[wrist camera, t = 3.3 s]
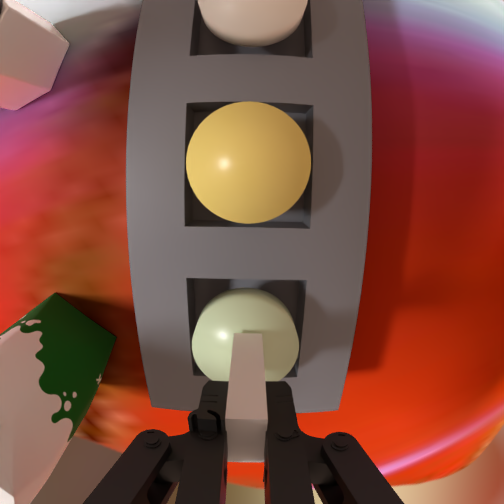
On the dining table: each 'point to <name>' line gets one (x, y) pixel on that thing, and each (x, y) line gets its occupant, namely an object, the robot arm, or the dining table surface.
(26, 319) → the milk carton
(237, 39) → the cream button
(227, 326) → the sage button
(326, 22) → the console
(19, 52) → the jar
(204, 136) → the mustard button
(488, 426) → the dining table surface
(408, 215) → the dining table surface
